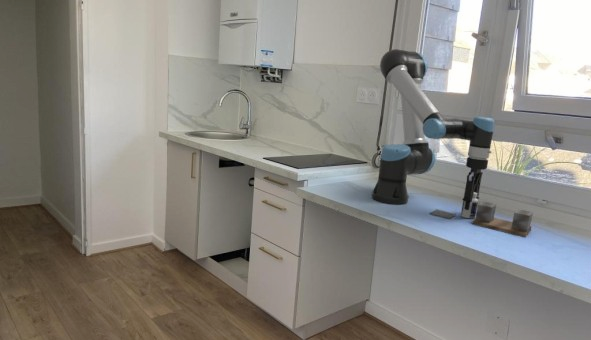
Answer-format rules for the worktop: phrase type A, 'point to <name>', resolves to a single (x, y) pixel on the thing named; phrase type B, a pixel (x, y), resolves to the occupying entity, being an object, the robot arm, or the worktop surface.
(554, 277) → the worktop surface
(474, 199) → the pill bottle
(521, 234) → the board with two blocks
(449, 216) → the pad
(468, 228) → the worktop surface
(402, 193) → the robot arm
